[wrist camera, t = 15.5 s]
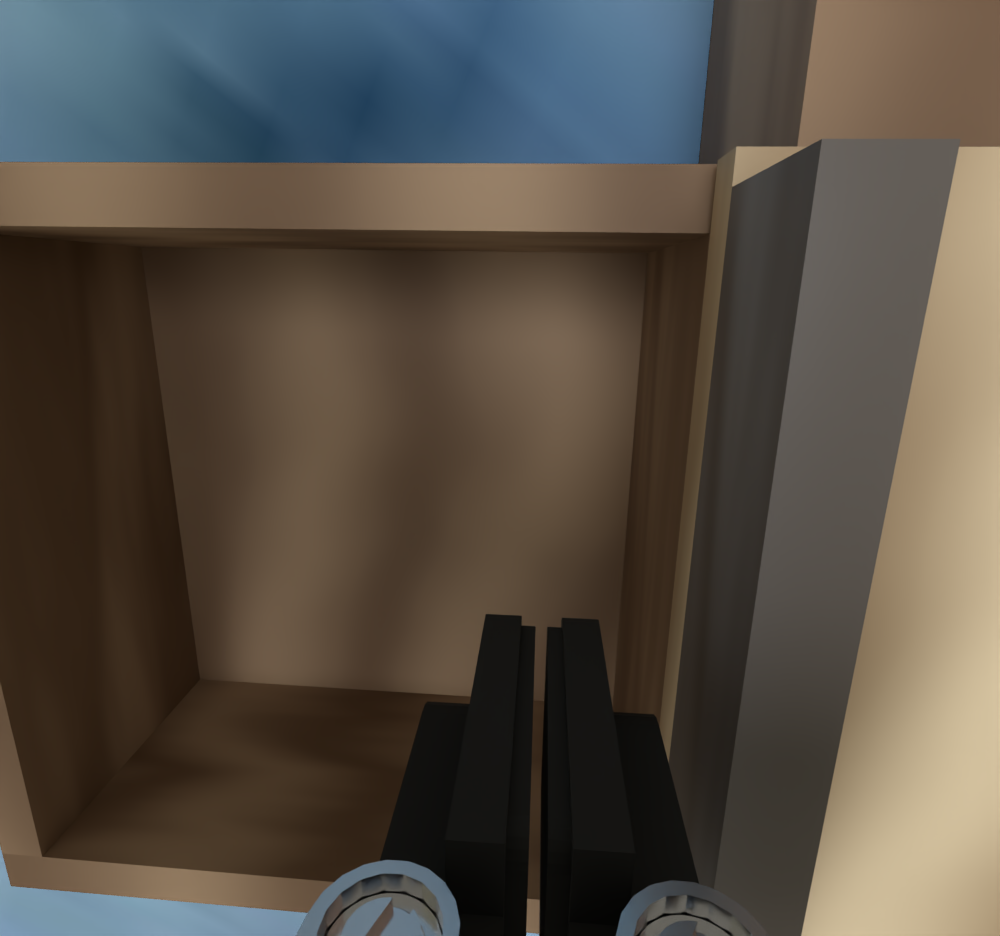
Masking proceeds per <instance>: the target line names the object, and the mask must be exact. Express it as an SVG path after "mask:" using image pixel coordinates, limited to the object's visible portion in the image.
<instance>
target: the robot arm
mask: <svg viewBox="0 0 1000 936" xmlns="http://www.w3.org/2000/svg"><path fill="white" fill-rule="evenodd" d="M535 631H536V626H523V625H522V616H519V615H498V614H486V615H485V620H484V626H483V631H482V637H481V642H480V648H479V654H478V659H477V665H476V670H475V676H474V681H473V687H472V693H471V698H470V704H464V703H446V702H429V701H427V702H426V704H425V706H424V708H423V711H422V714H421V718H420V721H419V725H418V728H417V732H416V735H415V739H414V742H413V746H412V749H411V753H410V756H409V760H408V763H407V767H406V770H405V774H404V777H403V781H402V784H401V788H400V791H399V795H398V798H397V802H396V805H395V809H394V812H393V816H392V819H391V823H390V826H389V830H388V833H387V837H386V840H385V844H384V847H383V851H382V854H381V858H380V861H378V862H374V863H369V864H364V865H362V866H360V867H358V868H356V869H354V870H352V871H350V872H348V873H346V874H344V875H342V876H341V877H340V878H338V879H337V880H336V881H335V882H334V883H332V884H331V885H330V886H329V887H328V888H327V889H325V890H324V891H323V892H322V894H321V895H320V896H319V898H318V899H317V901H316V902H315V903H314V905H313V906H312V908H311V909H310V910H309V912H308V914H307V915H306V917H305V919H304V921H303V923H302V925H301V927H300V929H299V930H298V932H297V934H296V936H526V923H527V894H528V865H529V834H530V801H531V767H532V733H533V699H534V665H535ZM539 936H769V935H768V934H767V932H766V931H765V929H764V927H763V926H762V925H761V924H760V923H759V922H758V921H757V920H756V919H755V918H754V917H753V916H752V915H751V914H750V913H749V912H748V911H747V910H746V909H745V908H744V907H743V906H742V905H741V904H739V903H737V902H736V901H734V900H733V899H731V898H729V897H728V896H726V895H725V894H723V893H722V892H720V891H718V890H715V889H713V888H710V887H707V886H704V885H701V884H699V881H698V877H697V873H696V869H695V865H694V861H693V857H692V853H691V849H690V845H689V842H688V838H687V834H686V830H685V826H684V822H683V818H682V814H681V810H680V806H679V802H678V798H677V794H676V790H675V786H674V782H673V778H672V774H671V770H670V767H669V763H668V759H667V755H666V751H665V747H664V743H663V739H662V735H661V731H660V727H659V724H658V721H657V718H656V716H655V715H654V714H640V713H622V712H613V707H612V701H611V695H610V688H609V682H608V675H607V669H606V662H605V656H604V649H603V643H602V637H601V630H600V624H599V620H598V619H582V618H562V620H561V627H547V644H546V669H545V694H544V719H543V744H542V769H541V814H540V913H539Z"/></svg>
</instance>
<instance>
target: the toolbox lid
mask: <svg viewBox="0 0 1000 936" xmlns="http://www.w3.org/2000/svg"><path fill="white" fill-rule="evenodd" d="M960 140H961V139H821V140H819V141H817V142H815V143H813V144H811V145H810V146H808V147H735V148H734V149H733V150H731V151H730V152H728V153H727V154H726V155H724V156H723V157H722V158H720V159H719V160H718V163H717V173H716V183H715V192H714V202H713V212H712V221H711V231H710V241H709V250H708V260H707V270H706V280H705V289H704V299H703V309H702V318H701V328H700V338H699V348H698V357H697V367H696V377H695V386H694V396H693V406H692V416H691V425H690V435H689V445H688V454H687V464H686V474H685V484H684V493H683V503H682V513H681V522H680V532H679V542H678V551H677V561H676V571H675V581H674V590H673V600H672V610H671V619H670V629H669V639H668V649H667V658H666V668H665V678H664V687H663V697H662V707H661V717H660V726H659V727H660V731H661V735H662V739H663V743H664V747H665V751H666V755H667V759H668V763H669V767H670V770H671V774H672V778H673V782H674V786H675V790H676V794H677V798H678V802H679V806H680V810H681V814H682V818H683V822H684V826H685V830H686V834H687V838H688V842H689V845H690V849H691V853H692V857H693V861H694V865H695V869H696V873H697V877H698V881H699V884H701V885H704V886H707V887H710V888H713V889H715V890H718V891H720V892H722V893H723V894H725V895H726V896H728V897H729V898H731V899H733V900H734V901H736V902H737V903H739V904H741V905H742V906H743V907H744V908H745V909H746V910H747V911H748V912H749V913H750V914H751V915H752V916H753V917H754V918H755V919H756V920H757V921H758V922H759V923H760V924H761V925H762V926H763V927H764V929H765V931H766V932H767V934H768V935H769V936H1000V147H959V145H960Z"/></svg>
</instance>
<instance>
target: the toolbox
mask: <svg viewBox="0 0 1000 936" xmlns="http://www.w3.org/2000/svg"><path fill="white" fill-rule="evenodd" d="M821 139H961V140H960V145H959V147H1000V0H714V8H713V19H712V29H711V40H710V50H709V61H708V71H707V82H706V92H705V103H704V113H703V124H702V134H701V145H700V155H699V164H509V163H160V162H0V846H1V850H2V854H3V858H4V861H5V865H6V869H7V873H8V877H9V880H10V884H11V886H16V887H27V888H38V889H49V890H60V891H72V892H83V893H94V894H105V895H116V896H127V897H138V898H149V899H161V900H172V901H183V902H194V903H205V904H216V905H227V906H238V907H250V908H261V909H272V910H283V911H294V912H305V913H308V912H309V910H310V909H311V908H312V906H313V905H314V903H315V902H316V901H317V899H318V898H319V896H320V895H321V894H322V892H323V891H324V890H325V889H327V888H328V887H329V886H330V885H331V884H332V883H334V882H335V881H336V880H337V879H338V878H340V877H341V876H342V875H344V874H346V873H348V872H350V871H352V870H354V869H356V868H358V867H360V866H362V865H364V864H369V863H374V862H378V861H380V858H381V854H382V851H383V847H384V844H385V840H386V837H387V833H388V830H389V826H390V823H391V819H392V816H393V812H394V809H395V805H396V802H397V798H398V795H399V791H400V788H401V784H402V781H403V777H404V774H405V770H406V767H407V763H408V760H409V756H410V753H411V749H412V746H413V742H414V739H415V735H416V732H417V728H418V725H419V721H420V718H421V714H422V711H423V708H424V706H425V704H426V702H427V701H429V702H446V703H464V704H470V698H471V693H472V687H473V681H474V676H475V670H476V665H477V659H478V654H479V648H480V642H481V637H482V631H483V626H484V620H485V615H486V614H498V615H519V616H522V625H523V626H536V631H535V665H534V699H533V733H532V767H531V801H530V834H529V865H528V894H527V923H526V932H528V933H539V913H540V814H541V769H542V744H543V719H544V694H545V669H546V644H547V627H561V620H562V618H582V619H598V620H599V624H600V630H601V637H602V643H603V649H604V656H605V662H606V669H607V675H608V682H609V688H610V695H611V701H612V707H613V712H622V713H640V714H654V715H655V716H656V718H657V721H658V724H659V726H660V717H661V707H662V697H663V687H664V678H665V668H666V658H667V649H668V639H669V629H670V619H671V610H672V600H673V590H674V581H675V571H676V561H677V551H678V542H679V532H680V522H681V513H682V503H683V493H684V484H685V474H686V464H687V454H688V445H689V435H690V425H691V416H692V406H693V396H694V386H695V377H696V367H697V357H698V348H699V338H700V328H701V318H702V309H703V299H704V289H705V280H706V270H707V260H708V250H709V241H710V231H711V221H712V212H713V202H714V192H715V183H716V173H717V163H718V160H719V159H720V158H722V157H723V156H724V155H726V154H727V153H728V152H730V151H731V150H733V149H734V148H735V147H808V146H810V145H811V144H813V143H815V142H817V141H819V140H821Z"/></svg>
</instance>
